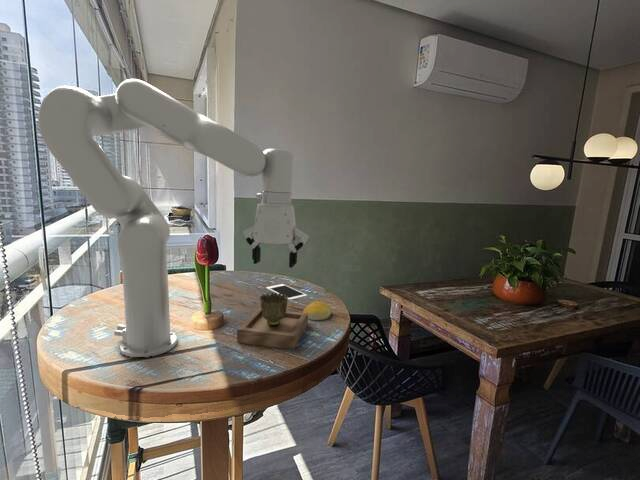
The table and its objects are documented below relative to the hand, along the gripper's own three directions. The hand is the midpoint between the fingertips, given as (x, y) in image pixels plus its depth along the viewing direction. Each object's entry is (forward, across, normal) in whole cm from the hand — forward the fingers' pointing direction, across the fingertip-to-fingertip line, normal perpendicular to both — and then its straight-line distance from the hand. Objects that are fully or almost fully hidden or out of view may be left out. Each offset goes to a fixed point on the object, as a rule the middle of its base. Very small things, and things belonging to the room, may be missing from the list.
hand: (274, 264), depth 90 cm
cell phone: (+20, -6, +34) cm, 40 cm away
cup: (+17, 0, 0) cm, 17 cm away
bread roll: (+19, +9, +16) cm, 27 cm away
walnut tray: (+20, +1, 0) cm, 20 cm away
